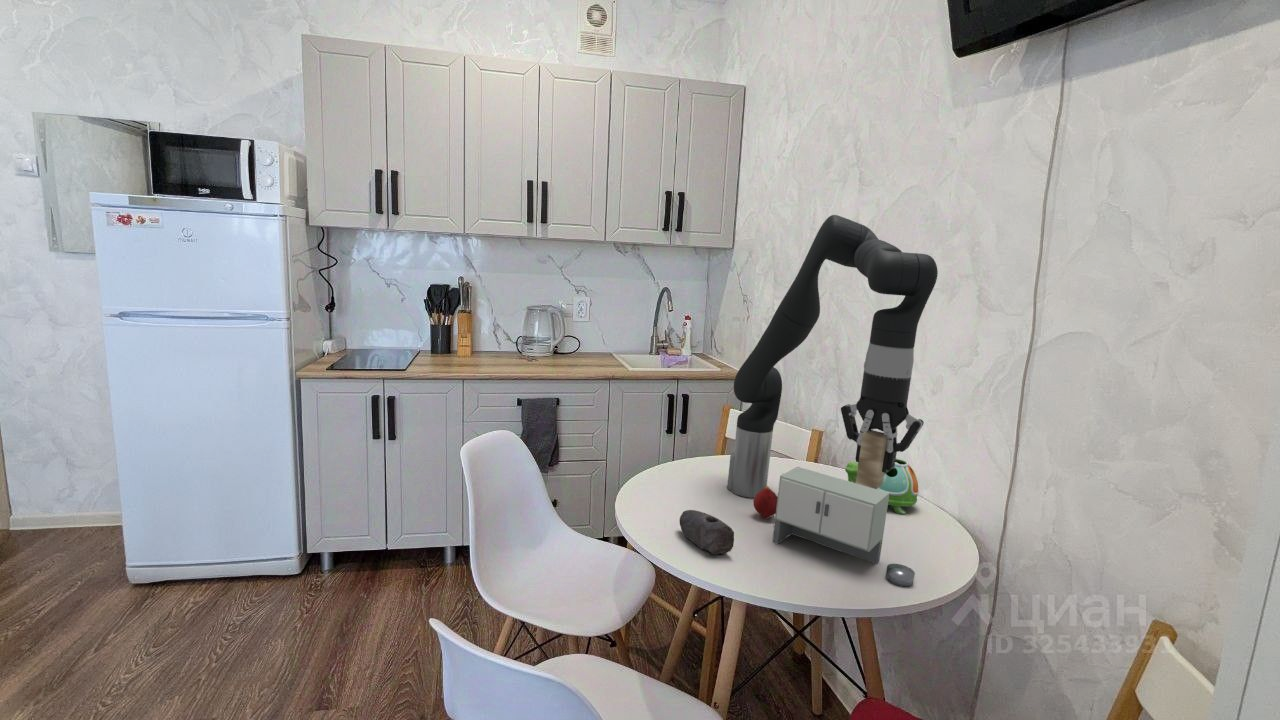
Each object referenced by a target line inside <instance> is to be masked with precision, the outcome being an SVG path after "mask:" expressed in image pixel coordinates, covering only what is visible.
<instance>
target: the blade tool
mask: <svg viewBox="0 0 1280 720" xmlns="http://www.w3.org/2000/svg"><path fill="white" fill-rule="evenodd" d="M885 452H886V437H885V436H884V432H883V431H879V430H878V431H877V430H875V429H873V430H870V431H868V432H864V433H863V435H862V442H861V449H860V456H859V463H858V462H857V463H858V470H857V477H856V484H860V485H863V486H867V487H870V488H874V489H877V488H878V487H880V486H881V485H882V484H883V478H884V474H886V473H884V472H882V467H883V461H884V454H885ZM897 453H898V452H896V455H895V460H896V458H897ZM895 464H896V462H895V461H894V467H895ZM894 467H893V468H894Z"/></svg>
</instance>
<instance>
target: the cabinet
mask: <svg viewBox="0 0 1280 720" xmlns="http://www.w3.org/2000/svg"><path fill="white" fill-rule="evenodd" d="M889 494H890V493H888V492H885V491H881V490H878V489H874V488H870V487H867V486H863V485H860V484H856V483H853V482H850V481H848V480H846V479H842V478H839V477H835V476H832V475H828V474H825V473H820V472H818V471H814V470H810V469H807V468H803V467H800V466H796V467H794V468H792V469H790V470H788V471H786V472H785V473H783V474H781V475H780V476H779V483H778V492H777V497H778V499H777V507H776V514H775V517H774V525H773V526H774V527H773V534H772V543H774V544H780V542H783V541H784V540H785V539H787V538H788V537H789V536H791V535H794V536H797V537H800V538H803V539H806V540H809V541H811V542H814V543H817V544H820V545H822V546H824V547H828V548H831V549H833V550H836V551H839V552H842V553H844V554H848V555H850V556H853V557H856V558H859V559H861V560H864V561H867V562H869V563H873V564H876V565H877V564H879V563H880V561H881V553H882V546H883V542H884V541H883V540H884V534H885V526H886V521H887V520H886V519H887V515H888V514H887V513H888V506H889V505H888V500H889Z"/></svg>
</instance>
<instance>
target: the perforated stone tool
mask: <svg viewBox="0 0 1280 720" xmlns="http://www.w3.org/2000/svg"><path fill="white" fill-rule="evenodd" d="M679 527H680V529H681V531H682V533H683V535H685V537H686V538H687V539H688V540H690V541H692V543H693V544H695V545H697V547H698V548H700V549H702V550H705V551H708V552H710V554H712V555H716V556H717V555H719V554H721V555H724V554H727V553H729V552H731V550H733V548H734V543H735V532H734V530H733V529H732V527H731V526H729V525H728V524H727V523H725V522H724V521H722V520H721V519H720V518H717V517H715V516H713V515H711V514H708V513H706V512H704V511H703V512H702V511H699V510H696V509H695V510H694V509H688V510H687V509H686V510H684V511H683V512H682V513H681V514H680V517H679Z"/></svg>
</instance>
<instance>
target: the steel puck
mask: <svg viewBox="0 0 1280 720" xmlns="http://www.w3.org/2000/svg"><path fill="white" fill-rule="evenodd" d="M885 571H886V572H885V580H886V581H887V582H888V583H889V584H891V585H893V586H895V587H900V588H905V589H906V587H907V588H911V587H913V586H914V580H915V574H916V573H915V570H913V568H911V567H909V566H907V565H903V564H901V563H889V564H888V565H886V570H885Z"/></svg>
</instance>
